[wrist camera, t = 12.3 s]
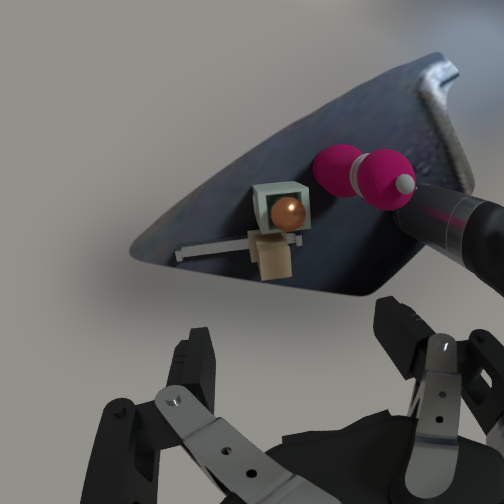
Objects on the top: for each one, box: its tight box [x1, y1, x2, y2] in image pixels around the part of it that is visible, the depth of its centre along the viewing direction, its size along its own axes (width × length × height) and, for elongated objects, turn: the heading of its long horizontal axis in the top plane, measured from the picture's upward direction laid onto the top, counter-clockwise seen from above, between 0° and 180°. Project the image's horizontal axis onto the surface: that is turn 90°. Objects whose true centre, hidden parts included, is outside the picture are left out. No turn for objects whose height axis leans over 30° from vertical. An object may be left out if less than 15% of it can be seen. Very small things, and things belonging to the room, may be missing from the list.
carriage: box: [247, 229, 292, 281], centre depth 36 cm, size 5×4×10 cm
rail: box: [175, 230, 302, 262], centre depth 40 cm, size 18×2×4 cm, turn 96°
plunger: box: [269, 194, 306, 232], centre depth 33 cm, size 4×4×6 cm
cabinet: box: [252, 181, 311, 234], centre depth 36 cm, size 6×5×8 cm
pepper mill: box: [312, 144, 415, 211], centre depth 29 cm, size 7×7×20 cm
